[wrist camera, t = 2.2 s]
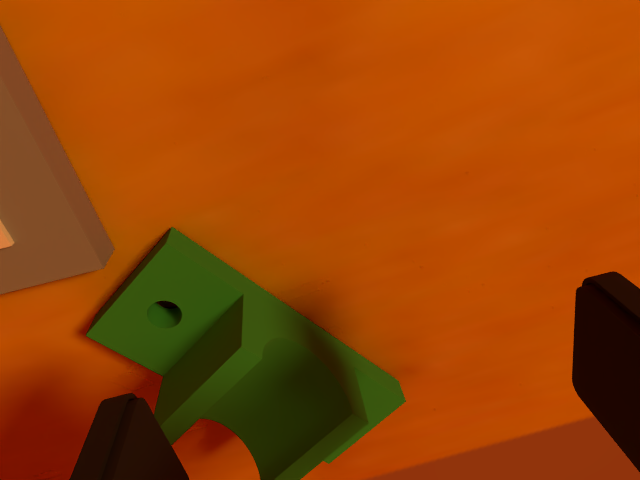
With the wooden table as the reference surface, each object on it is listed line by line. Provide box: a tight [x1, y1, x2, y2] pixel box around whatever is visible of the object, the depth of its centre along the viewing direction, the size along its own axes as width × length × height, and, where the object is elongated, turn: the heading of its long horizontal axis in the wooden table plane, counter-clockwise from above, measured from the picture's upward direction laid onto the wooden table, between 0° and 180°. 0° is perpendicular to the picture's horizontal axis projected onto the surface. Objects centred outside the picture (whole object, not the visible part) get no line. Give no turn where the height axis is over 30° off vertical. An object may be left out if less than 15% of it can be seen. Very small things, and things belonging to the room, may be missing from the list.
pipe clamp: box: [86, 227, 406, 480], centre depth 16 cm, size 11×4×5 cm
